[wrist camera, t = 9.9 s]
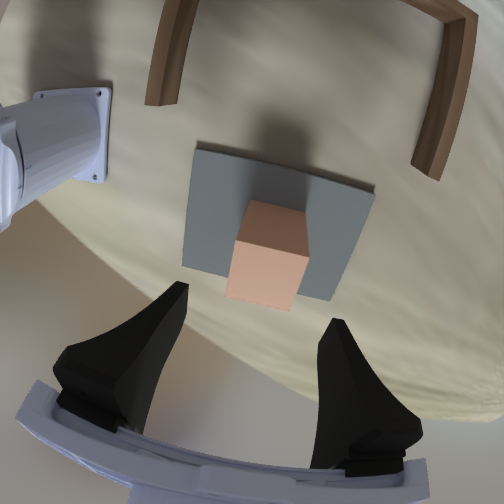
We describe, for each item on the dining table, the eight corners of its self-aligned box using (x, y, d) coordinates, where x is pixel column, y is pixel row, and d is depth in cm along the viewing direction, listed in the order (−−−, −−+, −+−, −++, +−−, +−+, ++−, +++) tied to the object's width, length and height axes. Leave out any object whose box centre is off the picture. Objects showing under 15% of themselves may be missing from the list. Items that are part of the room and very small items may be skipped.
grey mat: (183, 262, 24) (181, 265, 24) (196, 147, 19) (194, 149, 19) (329, 297, 24) (329, 301, 24) (373, 192, 19) (375, 195, 19)
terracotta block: (240, 246, 22) (224, 296, 17) (250, 199, 20) (235, 240, 15) (291, 258, 22) (289, 311, 17) (305, 212, 20) (309, 257, 15)
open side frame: (163, 102, 17) (144, 105, 15) (201, -50, 11) (188, -66, 8) (421, 168, 17) (439, 181, 15) (457, 20, 11) (478, 14, 8)
